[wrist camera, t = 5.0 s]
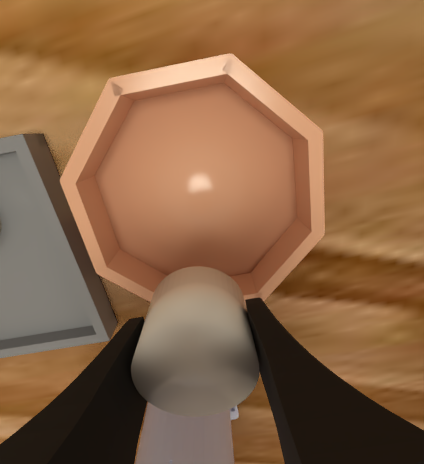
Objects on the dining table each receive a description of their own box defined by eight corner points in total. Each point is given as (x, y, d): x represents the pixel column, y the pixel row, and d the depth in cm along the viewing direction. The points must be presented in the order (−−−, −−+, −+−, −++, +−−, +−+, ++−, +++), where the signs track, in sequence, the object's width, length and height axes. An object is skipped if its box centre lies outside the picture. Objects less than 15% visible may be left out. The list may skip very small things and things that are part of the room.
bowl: (307, 266, 21) (325, 292, 17) (130, 295, 21) (117, 325, 18) (296, 54, 15) (321, 34, 12) (61, 102, 16) (25, 95, 13)
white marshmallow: (249, 335, 13) (265, 407, 10) (164, 348, 13) (150, 423, 10) (237, 258, 11) (251, 312, 8) (140, 275, 12) (113, 334, 8)
